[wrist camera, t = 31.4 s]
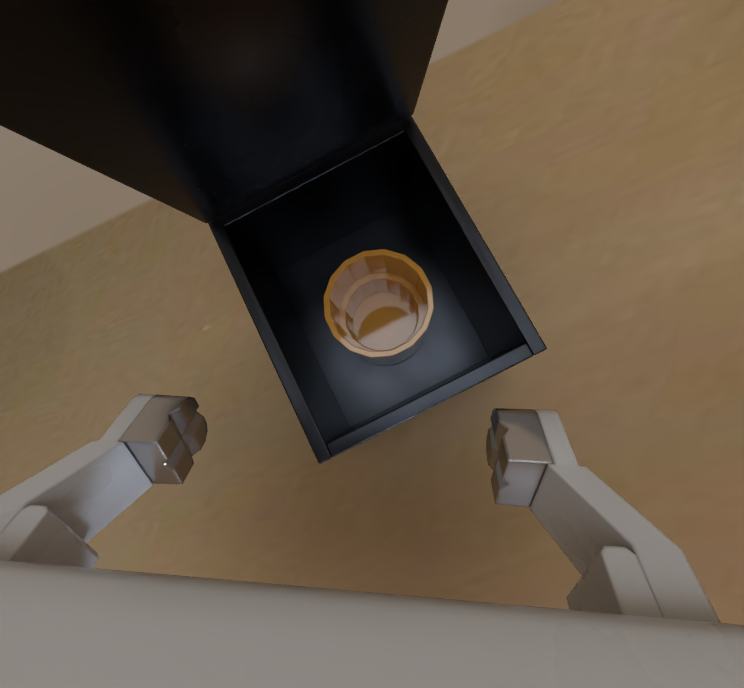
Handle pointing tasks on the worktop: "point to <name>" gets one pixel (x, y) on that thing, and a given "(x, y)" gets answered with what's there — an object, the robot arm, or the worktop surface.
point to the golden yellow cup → (379, 306)
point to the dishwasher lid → (210, 87)
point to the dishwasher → (348, 238)
